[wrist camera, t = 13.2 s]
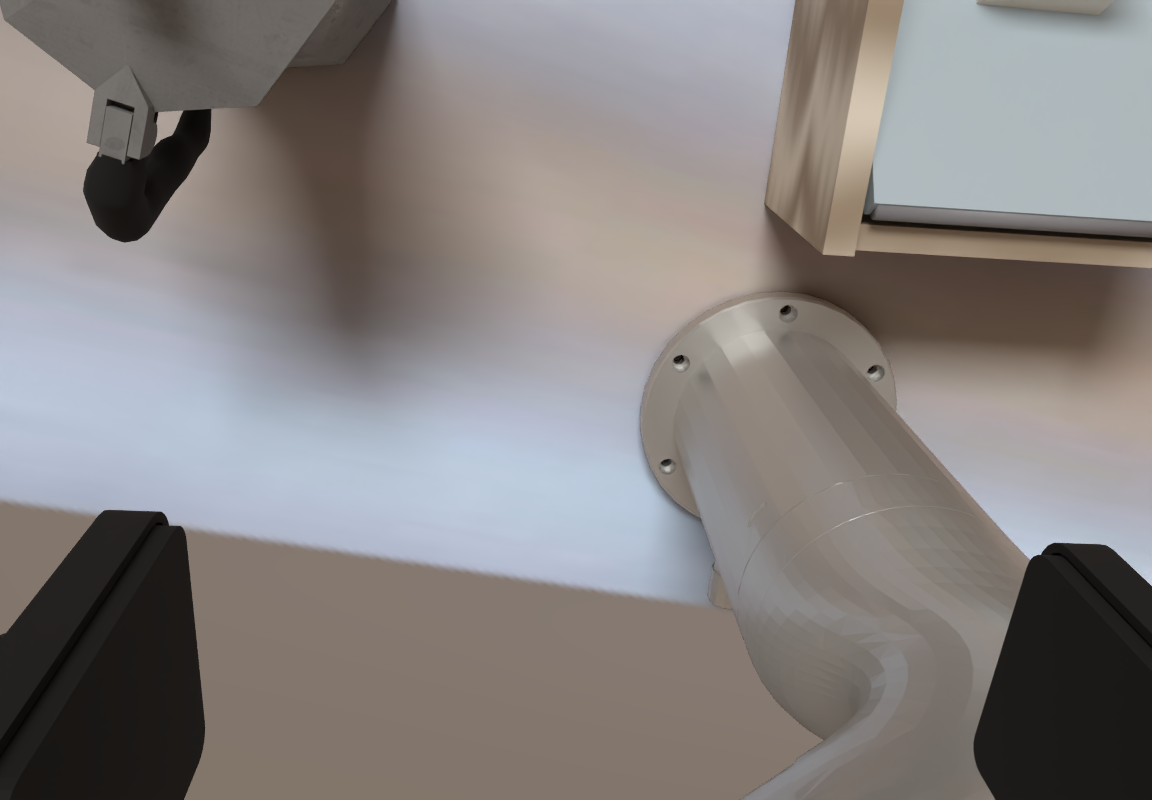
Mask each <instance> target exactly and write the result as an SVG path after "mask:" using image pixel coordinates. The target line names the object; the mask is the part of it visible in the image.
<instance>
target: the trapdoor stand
mask: <svg viewBox="0 0 1152 800" xmlns="http://www.w3.org/2000/svg"><path fill="white" fill-rule="evenodd" d="M903 3H904V0H796V1H795V8H794V14H793V21H792V28H791V34H790V41H789V47H788V54H787V60H786V67H785V73H784V80H783V86H782V93H781V99H780V106H779V112H778V119H777V125H776V132H775V138H774V145H773V151H772V158H771V164H770V171H769V177H768V184H767V191H766V197H765V204H766V205H767V206H768V207H769V208H770V209H771V210H772V211H774V212H775V213H776V214H777V215H778V216H779V217H780V218H782V219H783V220H784V221H785V222H786V223H787V224H788V225H790V226H791V227H792V228H793V229H794V230H795V231H796V232H798V233H799V234H800V235H801V236H802V237H803V238H804V239H806V240H807V241H808V242H809V243H810V244H811V245H812V246H814V247H815V248H816V249H817V250H818V251H819V252H820V253H822V254H823V255H839V256H854V255H855V250H860V251H877V252H893V253H910V254H927V255H943V256H960V257H976V258H993V259H1009V260H1026V261H1042V262H1059V263H1075V264H1092V265H1108V266H1125V267H1141V268H1152V238H1149V237H1134V236H1118V235H1102V234H1086V233H1070V232H1055V231H1039V230H1023V229H1007V228H992V227H976V226H960V225H944V224H928V223H913V222H897V221H881V220H872V219H871V217H870V214H864V203H865V198H866V193H867V188H868V183H869V178H870V173H871V168H872V162H873V157H874V152H875V147H876V142H877V137H878V132H879V126H880V121H881V116H882V111H883V106H884V101H885V96H886V91H887V85H888V80H889V75H890V70H891V65H892V60H893V55H894V49H895V44H896V39H897V34H898V29H899V24H900V19H901V14H902V8H903Z"/></svg>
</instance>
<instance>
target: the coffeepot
mask: <svg viewBox="0 0 1152 800" xmlns="http://www.w3.org/2000/svg"><path fill="white" fill-rule="evenodd" d="M391 1H392V0H0V6H1V10H2V13H3V17H4V20H5V21H6V22H8V23H9V24H10V25H12V26H13V27H14V28H15V29H17V30H18V31H19V32H21V33H22V34H23V35H24V36H26V37H27V38H28V39H30V40H31V41H32V42H33V43H35V44H36V45H37V46H39V47H40V48H41V49H42V50H44V51H45V52H46V53H48V54H49V55H50V56H51V57H53V58H54V59H55V60H57V61H58V62H59V63H60V64H62V65H63V66H64V67H66V68H67V69H68V70H69V71H71V72H72V73H73V74H75V75H76V76H77V77H78V78H80V79H81V80H82V81H84V82H85V83H86V84H87V85H89V86H90V87H91V88H93V89H94V90H95V92H94V98H93V105H92V111H91V118H90V124H89V130H88V137H87V143H89V144H92V145H95V146H98V147H100V149H99V152H98V153H97V156H96V157H95V159H94V160H93V162H92V163H91V165H90V166H89V168H88V169H87V173H86V177H85V181H84V188H83V192H84V195H85V199H86V201H87V204H88V206H89V209H90V211H91V214H92V216H93V219H94V221H95V224H96V226H98V227H99V228H100V229H101V230H102V231H103V232H104V233H105V234H106V235H107V236H109V237H110V238H112V239H115V240H118V241H121V242H130V241H136V240H138V239H140V238H141V237H142V236H144V235H145V234H146V233H147V232H148V231H149V230H150V228H151V227H152V225H153V224H154V222H155V221H156V219H157V218H158V216H159V215H160V213H161V211H162V210H163V208H164V207H165V205H166V204H167V202H168V201H169V199H170V198H171V196H172V195H173V194H174V192H175V191H176V190H177V188H178V187H179V186H180V185H181V184H182V182H183V181H184V180H185V179H186V178H187V176H188V175H189V173H190V171H191V170H192V168H193V166H194V164H195V162H196V160H197V158H198V157H199V156H200V154H201V153H202V152H203V151H204V150H205V148H206V147H207V145H208V143H209V138H210V132H211V109H215V108H232V107H248V106H258V105H259V104H260V103H261V101H262V100H263V99H264V97H265V96H266V95H267V93H268V92H269V91H270V89H271V88H272V87H273V85H274V84H275V83H276V81H277V80H278V79H279V77H280V76H281V75H282V73H283V72H284V71H285V69H286V68H291V67H308V66H325V65H342V64H344V62H345V61H346V60H347V59H348V57H349V56H350V55H351V53H352V52H353V51H354V49H355V48H356V47H357V46H358V44H359V43H360V42H361V41H362V39H363V38H364V37H365V35H366V34H367V33H368V32H369V30H370V29H371V27H372V26H373V25H374V23H375V22H376V21H377V19H378V18H379V17H380V16H381V14H382V13H383V12H384V10H385V9H386V8H387V6H388V5H389V4H390V2H391ZM182 110H183V113H182V115H181V117H180V120H179V122H178V125H177V127H176V129H175V131H174V133H173V135H172V136H169V137H167V138H165V139H163V140H161V141H160V142H158V143H157V144H156V145H155V141H156V137H157V125H156V122H157V117H158V112H165V111H182ZM154 145H155V146H154Z"/></svg>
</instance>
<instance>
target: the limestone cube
mask: <svg viewBox="0 0 1152 800" xmlns="http://www.w3.org/2000/svg"><path fill="white" fill-rule="evenodd" d="M1113 1H1114V0H976V4H983V5H994V6H1005V7H1015V8H1026V9H1037V10H1048V11H1058V12H1069V13H1080V14H1091V15H1100V14H1101V13H1102V12H1103V11H1104V10H1105V9H1106V8H1107V7H1108V6H1109V5H1110V4H1111V3H1112V2H1113Z"/></svg>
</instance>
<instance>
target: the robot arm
mask: <svg viewBox="0 0 1152 800" xmlns="http://www.w3.org/2000/svg"><path fill="white" fill-rule="evenodd" d="M785 305H788V306H789V308H788V310H787V311H786V312H783V313H782V312H780V310H781V308H783V307H784V306H785ZM678 355H683V358H682V359H681V360H680V361H674V360H673V359H674V358H675V357H676V356H678ZM873 365H874V367H873V369H872V370H870V371H868V369H869V368H870V367H872V366H873ZM896 406H897V399H896V387H895V380H894V377H893V373H892V370H891V367H890V364H889V360H888V359H887V357H886V355H885V353H884V352H883V350H882V348H881V346H880V345H879V343H878V341H877V340H876V339H875V338H874V337H873V336H872V335H871V333H870V332H869V331H868V330H867V329H866V328H865V327H864V326H863V325H862V324H861V323H860V322H859V321H857V320H856V319H855V318H854V317H853V316H852V315H850V314H849V313H848V312H846V311H845V310H843V309H841V308H839V307H837V306H836V305H834V304H832V303H830V302H828V301H826V300H823V299H819V298H816V297H813V296H810V295H806V294H800V293H790V292H781V291H779V292H767V293H755V294H751V295H747V296H744V297H740V298H736V299H733V300H729V301H727V302H725V303H723V304H721V305H719V306H717V307H714V308H712V309H710V310H708V311H706V312H705V313H703V314H702V315H701V316H699V317H698V318H696V319H695V320H693V321H692V322H691V323H689V324H688V325H686V326H685V327H684V328H683V329H682V330H681V331H680V332H679V333H678V334H677V335H676V336H675V337H674V338H673V339H672V340H671V341H670V342H669V343H668V345H667V346H666V348H665V349H664V351H663V352H662V354H661V355H660V357H659V358H658V360H657V361H656V362H655V364H654V366H653V369H652V371H651V373H650V376H649V378H648V380H647V383H646V385H645V389H644V394H643V398H642V403H641V408H640V430H641V435H642V440H643V445H644V450H645V453H646V456H647V459H648V462H649V465H650V468H651V469H652V471H653V473H654V475H655V476H656V478H657V480H658V482H659V483H660V485H661V486H662V488H663V489H664V490H665V491H666V492H667V493H668V494H669V495H670V496H671V497H672V499H673V500H674V501H675V502H676V503H678V504H679V505H681V506H682V507H683V508H685V509H686V510H687V511H689V512H690V513H691V514H693V515H695V516H697V517H699V518H701V520H702V522H703V525H704V528H705V531H706V534H707V537H708V540H709V542H710V545H711V548H712V551H713V554H714V557H715V562H714V564H713V565H712V569H711V576H710V582H709V588H708V598H709V600H710V601H711V602H712V603H713V604H714V605H716V606H718V607H721V608H724V609H733V611H734V614H735V617H736V620H737V623H738V626H739V628H740V631H741V634H742V637H743V640H744V641H745V644H746V647H747V650H748V653H749V655H750V658H751V660H752V663H753V665H754V667H755V669H756V671H757V673H758V675H759V677H760V679H761V681H762V683H763V684H764V685H765V687H766V688H767V690H768V691H769V692H770V694H771V695H772V696H773V698H774V699H775V700H776V701H777V703H778V704H779V705H780V706H781V707H782V708H783V709H784V710H785V711H787V712H788V713H789V714H790V715H791V716H792V717H793V718H794V719H795V720H796V721H798V722H799V723H800V724H801V725H802V726H804V727H805V728H806V729H808V730H809V731H810V732H812V733H813V734H815V735H817V736H818V737H820V738H822V739H823V740H824V741H822V742H821V743H819V744H818V745H816V746H815V747H814V748H812V749H810V750H809V751H807V752H806V753H804V754H803V755H802V756H800V757H799V758H798V759H797V760H796V762H795V763H794V764H793V765H791V766H790V767H788V768H787V769H785V770H783V771H782V772H780V773H779V774H778V775H776V776H774V777H773V778H771V779H770V780H768V781H767V782H765V783H764V784H762V785H761V786H760V787H758V788H756V789H755V790H753V791H752V792H750V793H749V794H747V795H746V796H744V797H743V798H741V799H740V800H1152V586H1151V585H1150V584H1149V583H1148V582H1147V581H1146V580H1145V579H1144V578H1142V577H1141V576H1140V575H1139V574H1138V573H1137V572H1136V571H1135V570H1134V569H1133V568H1132V567H1131V566H1130V565H1129V564H1128V563H1127V562H1126V561H1124V560H1123V559H1122V558H1121V557H1120V556H1119V555H1118V554H1117V553H1116V552H1115V551H1114V550H1112V549H1111V548H1109V547H1108V546H1106V545H1100V544H1073V543H1053V544H1051V545H1048V546H1047V547H1046V548H1045V550H1044V551H1043V552H1042V554H1041V555H1037V556H1034V557H1033V558H1032V559H1031V560H1029V559H1028V558H1027V556H1026V555H1025V554H1024V553H1023V552H1022V551H1021V550H1020V549H1019V548H1018V547H1017V546H1016V545H1015V544H1014V543H1013V542H1012V541H1011V540H1010V539H1009V538H1008V537H1007V535H1006V534H1005V533H1004V532H1003V531H1002V530H1001V529H1000V528H999V527H998V525H997V524H996V523H995V522H994V521H993V520H992V519H991V518H990V517H989V515H988V514H987V513H986V512H985V511H984V510H983V509H982V508H981V507H980V506H979V505H978V503H977V502H976V501H975V500H974V499H973V498H972V497H971V496H970V494H969V493H968V492H967V491H966V490H965V489H964V488H963V487H962V485H961V484H960V483H959V482H958V481H957V480H956V479H955V478H954V476H953V475H952V474H951V473H950V472H949V471H948V470H947V469H946V467H945V466H944V465H943V464H942V463H941V462H940V461H939V460H938V459H937V457H936V456H935V455H934V454H933V453H932V452H931V451H930V450H929V448H928V447H927V446H926V445H925V444H924V443H923V442H922V441H921V439H920V438H919V437H918V436H917V435H916V434H915V433H914V432H913V431H912V429H911V428H910V427H909V426H908V425H907V424H906V423H905V422H904V420H903V419H902V418H901V417H900V416H899V415H898V414H897V413H896ZM665 459H669V461H668V462H662V461H663V460H665ZM194 621H195V620H194V611H193V601H192V591H191V581H190V571H189V561H188V551H187V541H186V536H185V532H184V529H183V528H182V527H181V526H169V523H168V520H167V518H166V516H165V514H163V513H162V512H153V511H125V510H105V511H103V512H102V513H101V514H100V515H99V516H98V517H97V518H96V519H95V521H94V522H93V524H92V525H91V526H90V527H89V529H88V530H87V531H86V532H85V533H84V535H83V536H82V537H81V539H80V540H79V541H78V542H77V544H76V545H75V546H74V548H73V549H72V550H71V551H70V553H69V554H68V555H67V557H66V558H65V559H64V560H63V561H62V563H61V564H60V565H59V567H58V568H57V569H56V570H55V572H54V573H53V574H52V575H51V577H50V578H49V579H48V581H47V582H46V583H45V584H44V586H43V587H42V588H41V590H40V591H39V592H38V594H37V595H36V596H35V597H34V598H33V600H32V601H31V602H30V604H29V605H28V606H27V607H26V609H25V610H24V611H23V613H22V614H21V615H20V616H19V617H18V619H17V620H16V621H15V623H14V624H13V625H12V626H11V628H10V629H9V630H8V631H7V633H5V634H2V635H0V800H184V798H185V796H186V793H187V791H188V788H189V786H190V783H191V780H192V778H193V776H194V773H195V771H196V768H197V766H198V764H199V761H200V758H201V754H202V750H203V744H204V737H205V720H204V710H203V700H202V691H201V680H200V670H199V660H198V650H197V640H196V630H195V622H194Z"/></svg>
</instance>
